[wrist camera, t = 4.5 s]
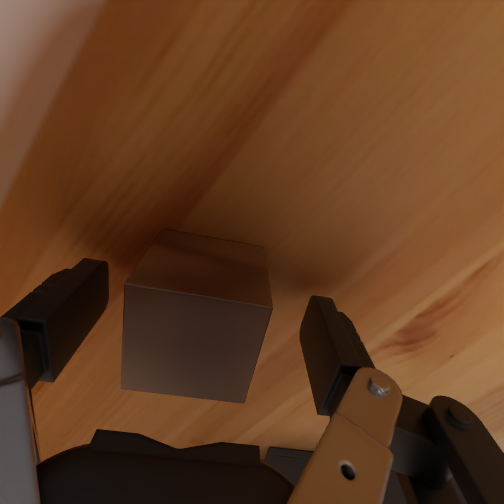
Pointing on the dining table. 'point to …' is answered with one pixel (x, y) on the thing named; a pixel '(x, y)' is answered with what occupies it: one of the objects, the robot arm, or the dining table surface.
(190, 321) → the block
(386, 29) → the dining table surface
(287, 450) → the carton
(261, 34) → the dining table surface
